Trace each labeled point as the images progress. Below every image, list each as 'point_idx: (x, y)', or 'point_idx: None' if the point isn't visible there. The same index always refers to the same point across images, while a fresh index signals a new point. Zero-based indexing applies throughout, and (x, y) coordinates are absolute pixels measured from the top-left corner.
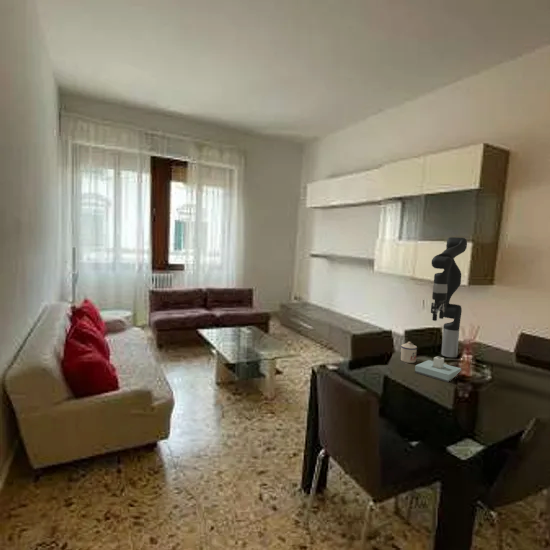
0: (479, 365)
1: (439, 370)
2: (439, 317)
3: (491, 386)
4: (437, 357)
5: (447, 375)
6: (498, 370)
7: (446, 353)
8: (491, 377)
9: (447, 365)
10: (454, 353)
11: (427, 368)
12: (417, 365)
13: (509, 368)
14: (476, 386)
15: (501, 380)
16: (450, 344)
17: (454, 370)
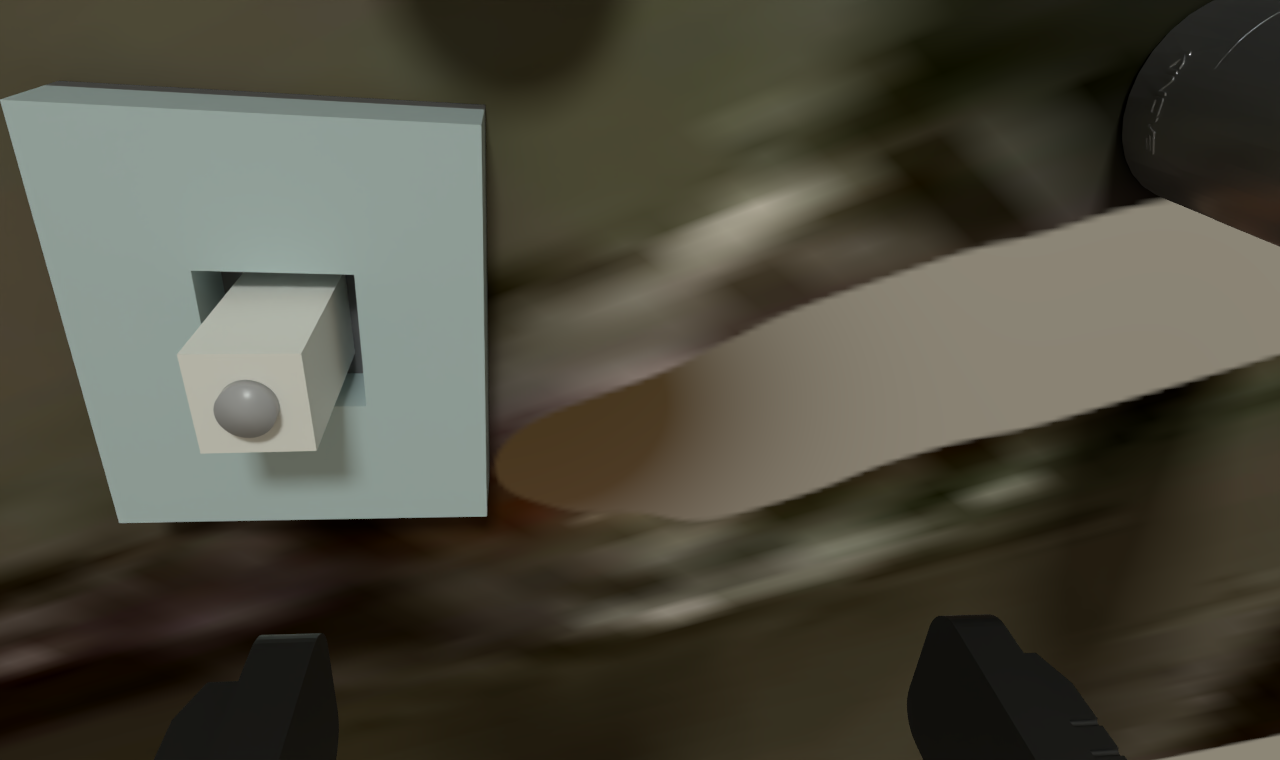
0: (989, 461)
1: (160, 406)
2: (952, 644)
3: (436, 690)
4: (215, 400)
5: (121, 505)
6: (936, 598)
7: (1157, 106)
8: (679, 625)
9: (458, 388)
10: (1180, 201)
11: (70, 280)
12: (35, 124)
13: (1059, 626)
14: None
15: (663, 684)
16: (1261, 188)
17: (341, 502)
